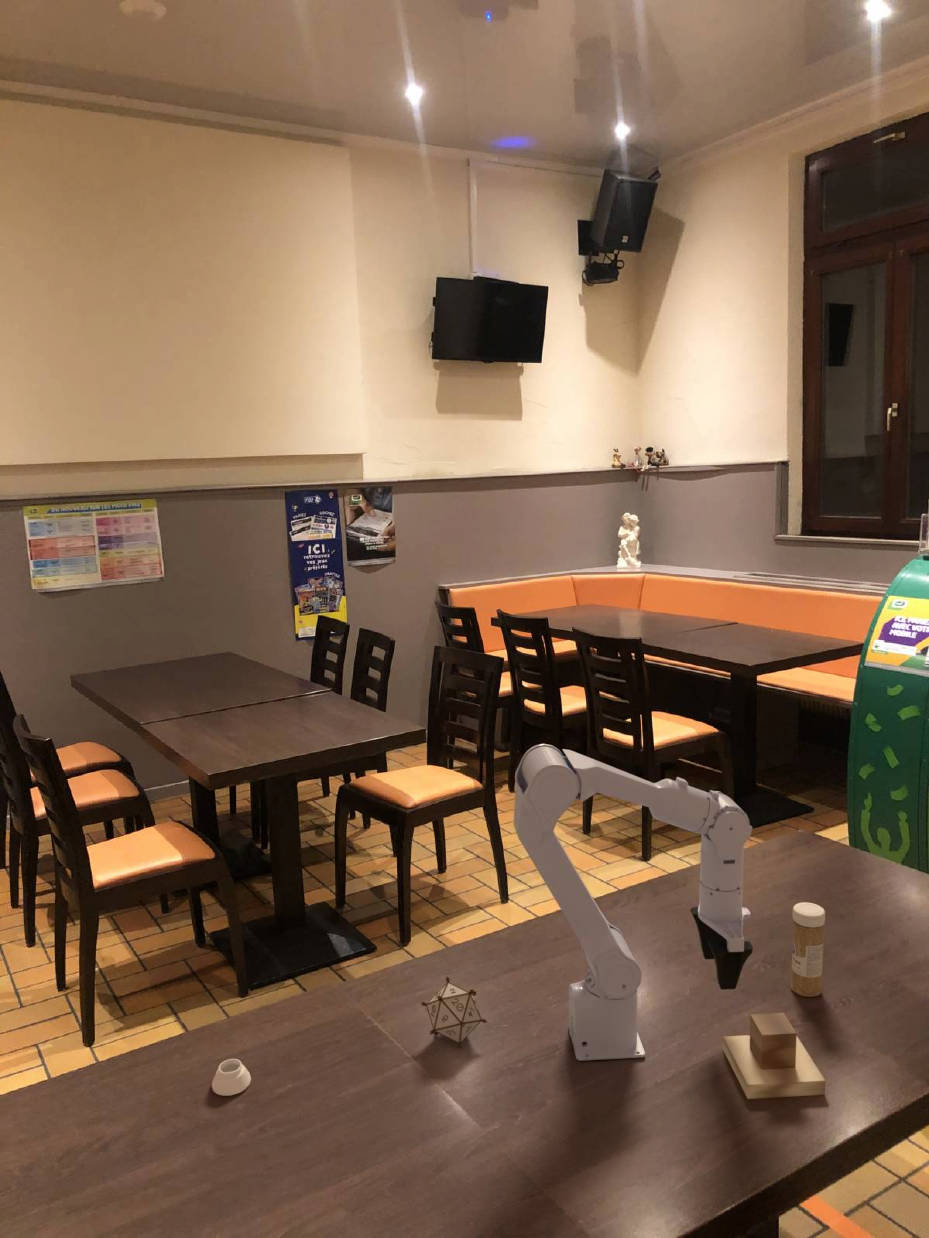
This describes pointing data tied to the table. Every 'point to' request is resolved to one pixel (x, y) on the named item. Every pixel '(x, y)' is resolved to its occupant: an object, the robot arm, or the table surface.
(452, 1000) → the game die
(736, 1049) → the birch base
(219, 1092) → the lidless jar
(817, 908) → the sprinkles bottle
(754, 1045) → the walnut block
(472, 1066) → the table surface
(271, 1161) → the table surface
